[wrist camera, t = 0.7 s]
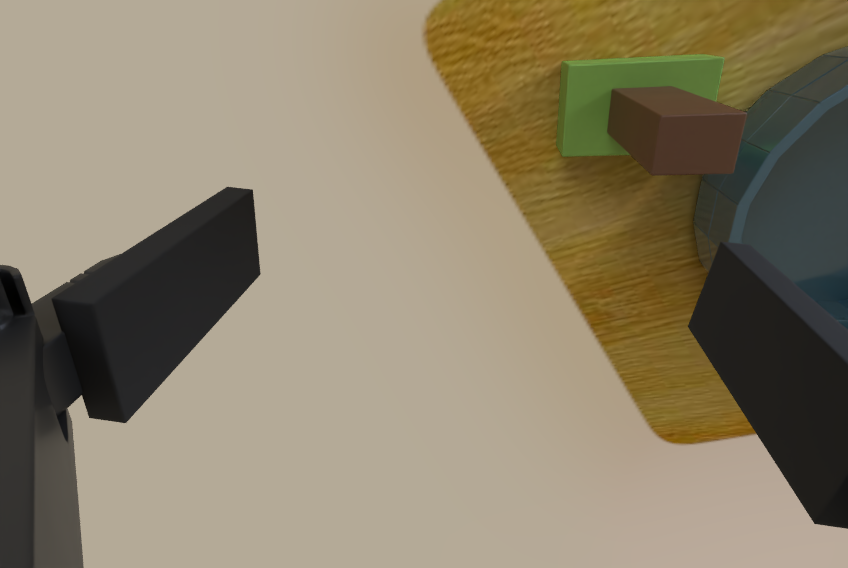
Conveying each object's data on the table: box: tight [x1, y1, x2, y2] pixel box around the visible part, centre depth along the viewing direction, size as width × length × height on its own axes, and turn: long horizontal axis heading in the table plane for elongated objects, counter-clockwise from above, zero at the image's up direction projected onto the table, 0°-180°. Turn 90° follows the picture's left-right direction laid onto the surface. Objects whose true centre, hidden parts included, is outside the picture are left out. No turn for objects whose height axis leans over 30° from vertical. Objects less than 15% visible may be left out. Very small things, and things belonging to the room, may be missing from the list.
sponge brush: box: [556, 54, 747, 175], centre depth 25 cm, size 8×5×12 cm, turn 93°
